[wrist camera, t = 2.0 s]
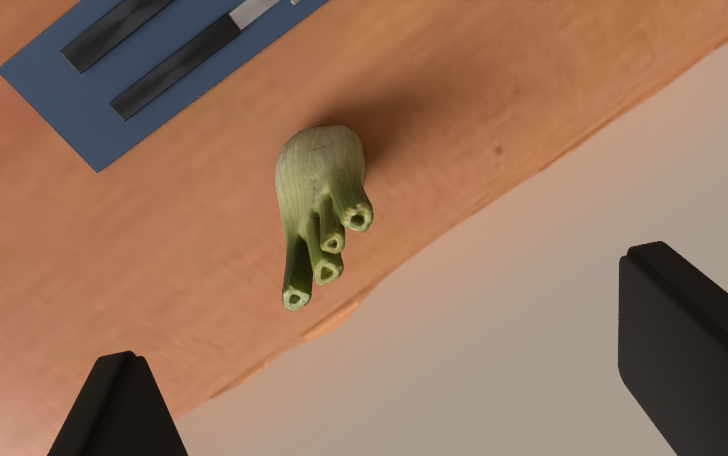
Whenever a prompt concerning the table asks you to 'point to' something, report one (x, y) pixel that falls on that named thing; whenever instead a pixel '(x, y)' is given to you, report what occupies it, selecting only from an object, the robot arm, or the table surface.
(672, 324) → the robot arm
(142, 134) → the napkin
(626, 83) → the table surface
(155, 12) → the cutlery
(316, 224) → the fennel bulb
